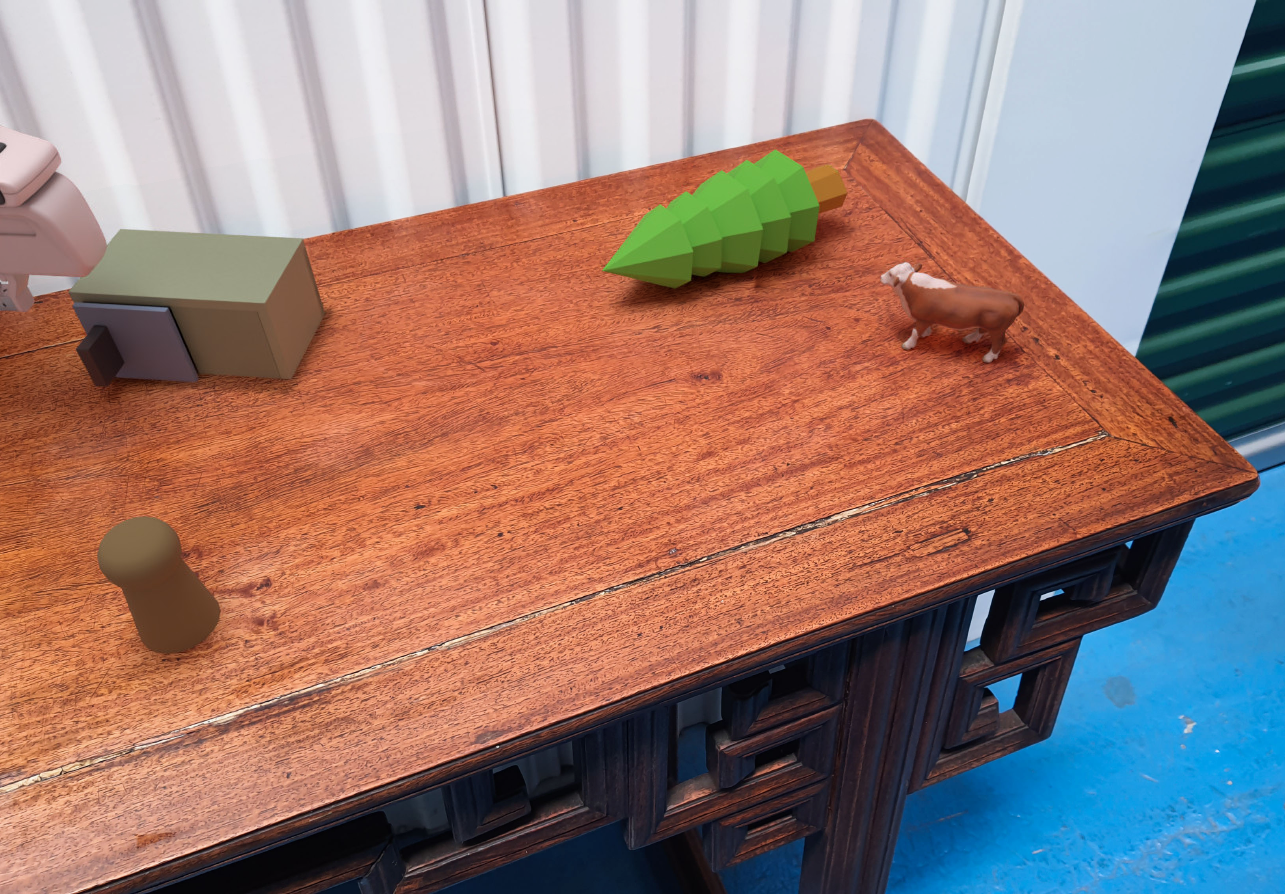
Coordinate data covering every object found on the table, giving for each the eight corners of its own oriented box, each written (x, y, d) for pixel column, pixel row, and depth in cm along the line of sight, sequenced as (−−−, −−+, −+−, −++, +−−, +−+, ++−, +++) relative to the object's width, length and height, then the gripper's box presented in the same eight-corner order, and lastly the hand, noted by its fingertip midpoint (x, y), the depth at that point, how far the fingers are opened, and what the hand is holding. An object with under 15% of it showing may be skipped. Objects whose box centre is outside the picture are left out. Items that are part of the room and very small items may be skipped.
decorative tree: (860, 133, 102) (619, 218, 89) (871, 241, 107) (644, 337, 94) (787, 132, 111) (559, 209, 98) (800, 232, 116) (584, 317, 103)
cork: (157, 678, 72) (96, 587, 64) (132, 622, 75) (72, 529, 67) (238, 636, 74) (189, 543, 66) (210, 583, 78) (161, 489, 70)
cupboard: (104, 387, 94) (59, 302, 87) (157, 311, 102) (120, 228, 95) (288, 398, 93) (258, 313, 85) (327, 321, 101) (303, 238, 93)
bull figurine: (873, 316, 101) (887, 248, 95) (1009, 345, 97) (1032, 276, 92) (864, 342, 98) (878, 274, 92) (1005, 373, 95) (1028, 304, 89)
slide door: (91, 402, 91) (51, 330, 85) (111, 373, 94) (74, 301, 88) (181, 408, 90) (148, 336, 84) (199, 378, 93) (168, 307, 87)
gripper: (-228, 178, 74) (-122, 324, 84) (32, 187, 72) (109, 336, 82) (-171, 136, 78) (-77, 280, 88) (74, 144, 77) (143, 289, 86)
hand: (14, 307), depth 85 cm, fingers closed
